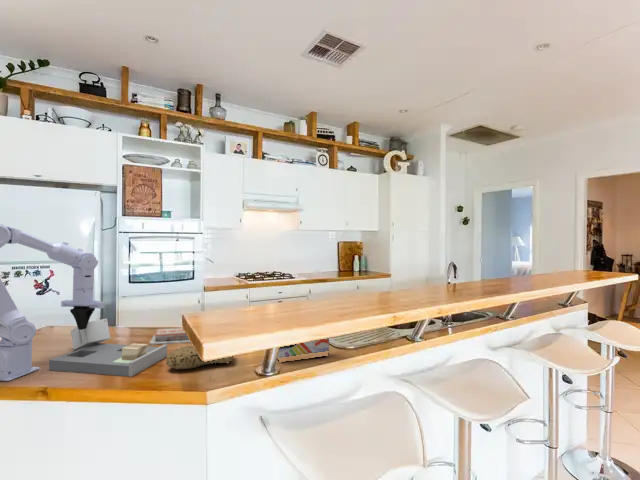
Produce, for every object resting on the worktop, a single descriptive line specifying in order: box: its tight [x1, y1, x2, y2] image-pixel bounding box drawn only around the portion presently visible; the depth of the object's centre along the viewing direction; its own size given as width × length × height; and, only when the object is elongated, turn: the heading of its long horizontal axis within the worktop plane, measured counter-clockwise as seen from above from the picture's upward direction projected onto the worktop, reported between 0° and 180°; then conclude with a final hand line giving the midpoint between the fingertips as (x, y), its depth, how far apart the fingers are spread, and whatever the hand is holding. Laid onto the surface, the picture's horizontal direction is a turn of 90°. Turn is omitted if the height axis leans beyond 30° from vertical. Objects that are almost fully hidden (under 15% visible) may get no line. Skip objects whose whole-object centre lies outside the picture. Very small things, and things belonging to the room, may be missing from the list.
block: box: [122, 342, 148, 360], centre depth 108 cm, size 5×5×4 cm
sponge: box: [165, 345, 235, 370], centre depth 111 cm, size 13×8×20 cm
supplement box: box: [70, 318, 111, 351], centre depth 123 cm, size 7×7×13 cm
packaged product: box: [148, 327, 191, 346], centre depth 138 cm, size 18×5×10 cm
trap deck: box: [48, 342, 168, 377], centre depth 111 cm, size 18×27×4 cm, turn 83°
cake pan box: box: [278, 337, 330, 358], centre depth 119 cm, size 19×5×18 cm, turn 112°
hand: (82, 328), depth 116 cm, fingers closed
